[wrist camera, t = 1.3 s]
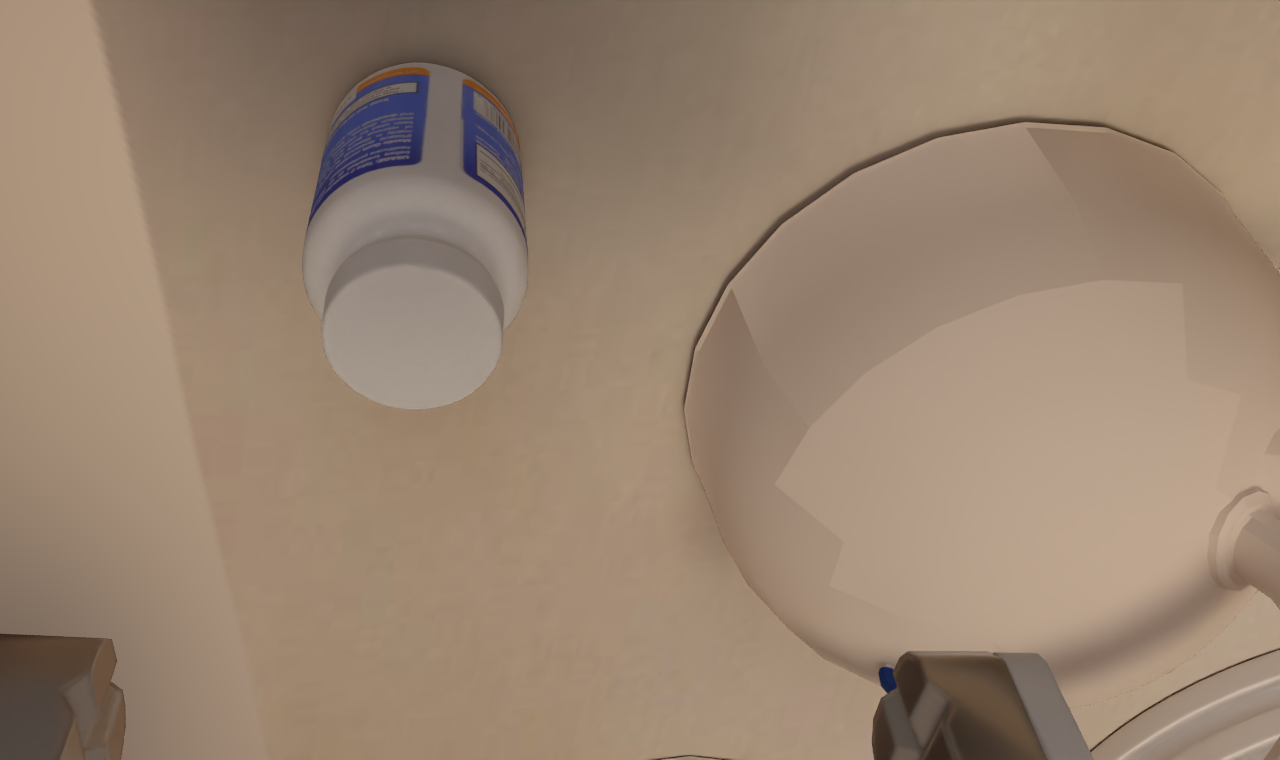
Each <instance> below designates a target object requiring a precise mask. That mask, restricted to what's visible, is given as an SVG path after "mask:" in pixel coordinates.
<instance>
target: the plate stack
mask: <svg viewBox="0 0 1280 760" xmlns="http://www.w3.org/2000/svg"><path fill="white" fill-rule="evenodd" d="M1279 737H1280V650H1278V651H1275V652H1272V653H1269V654H1266V655H1263V656H1260V657H1257V658H1255V659H1252V660H1249V661H1246V662H1244V663H1241V664H1239V665H1236V666H1234V667H1231V668H1229V669H1227V670H1224V671H1222V672H1220V673H1217V674H1215V675H1213V676H1211V677H1208V678H1206V679H1204V680H1202V681H1200V682H1198V683H1196V684H1194V685H1192V686H1190V687H1188V688H1186V689H1184V690H1182V691H1180V692H1178V693H1176V694H1174V695H1173V696H1171V697H1169V698H1167V699H1166V700H1164V701H1162V702H1160V703H1159V704H1157V705H1155V706H1154V707H1152V708H1150V709H1149V710H1147V711H1145V712H1144V713H1142V714H1141V715H1139V716H1138V717H1136V718H1135V719H1133V720H1132V721H1130V722H1129V723H1127V724H1126V725H1125V726H1123V727H1122V728H1120V729H1119V730H1118V731H1116V732H1115V733H1114V734H1112V735H1111V736H1110V737H1108V738H1107V739H1106V740H1105V741H1103V742H1102V743H1101V744H1100V745H1099V746H1097V747H1096V748H1095V749H1094V750H1093V751H1092V752H1091V754H1092V756H1093V759H1094V760H1264V758H1265V757H1266V755H1267V754H1268V753H1269V751H1270V750H1271V748H1272V747H1273V745H1274V744H1275V742H1276V741H1277V740H1278V738H1279Z"/></svg>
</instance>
